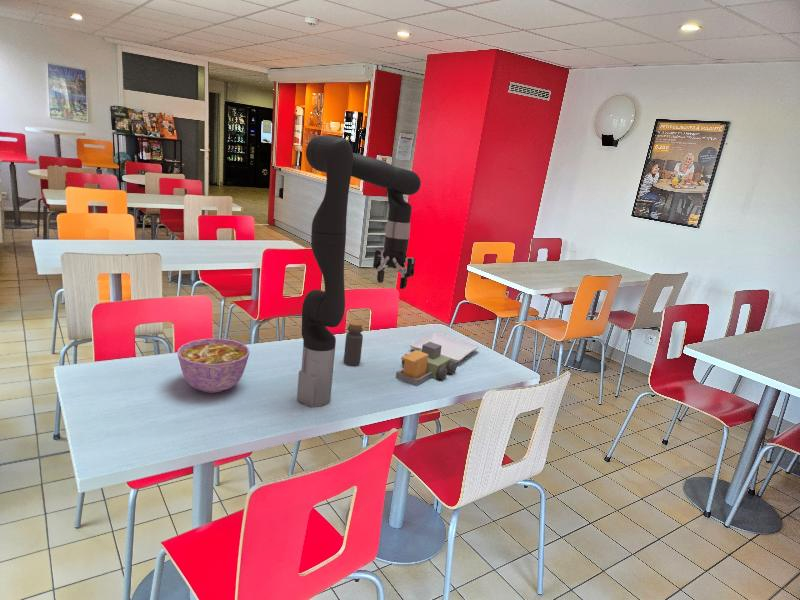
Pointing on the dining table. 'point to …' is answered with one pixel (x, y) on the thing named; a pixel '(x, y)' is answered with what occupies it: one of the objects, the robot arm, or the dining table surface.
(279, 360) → the dining table surface
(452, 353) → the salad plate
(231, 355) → the bowl of food
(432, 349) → the green boxy vehicle
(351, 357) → the bottle
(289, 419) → the dining table surface
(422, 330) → the dining table surface
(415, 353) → the orange box
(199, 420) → the dining table surface
